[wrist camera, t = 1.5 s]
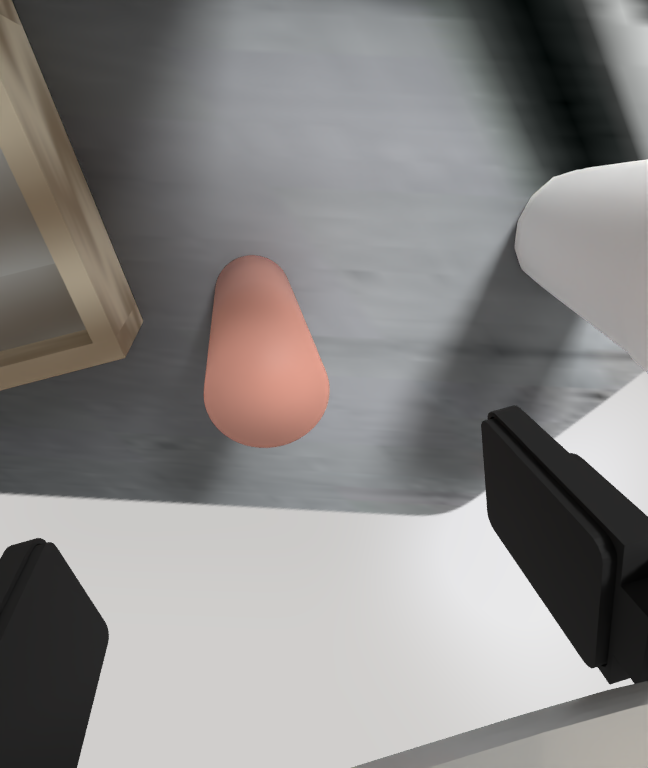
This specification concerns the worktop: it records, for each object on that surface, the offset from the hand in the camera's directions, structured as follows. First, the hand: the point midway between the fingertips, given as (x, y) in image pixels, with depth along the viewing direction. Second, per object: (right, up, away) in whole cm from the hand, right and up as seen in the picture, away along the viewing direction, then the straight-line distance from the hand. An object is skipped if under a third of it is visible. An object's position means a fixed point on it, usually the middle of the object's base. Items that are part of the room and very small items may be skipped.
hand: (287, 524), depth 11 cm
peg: (-3, +8, +16) cm, 18 cm away
